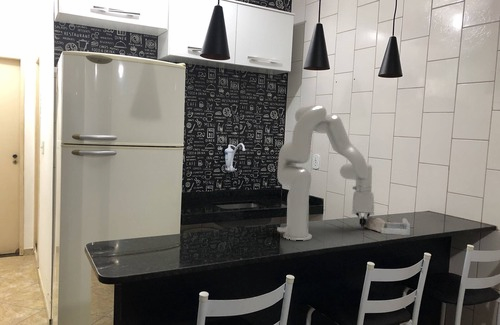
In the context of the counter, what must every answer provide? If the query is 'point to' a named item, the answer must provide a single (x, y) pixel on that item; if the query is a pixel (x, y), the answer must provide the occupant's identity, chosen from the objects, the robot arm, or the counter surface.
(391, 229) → the dock
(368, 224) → the concrete fragment
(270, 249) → the counter surface
